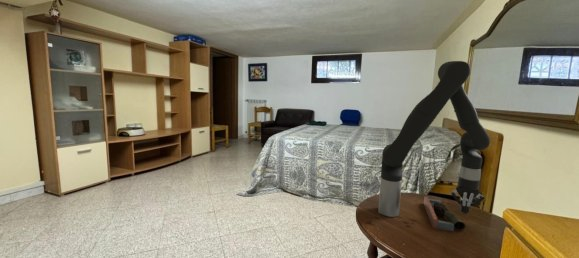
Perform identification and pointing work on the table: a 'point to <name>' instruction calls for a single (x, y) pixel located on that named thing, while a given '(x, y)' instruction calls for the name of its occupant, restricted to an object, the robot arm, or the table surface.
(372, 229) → the table surface
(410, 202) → the table surface
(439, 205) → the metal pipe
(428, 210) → the brown pull handle
